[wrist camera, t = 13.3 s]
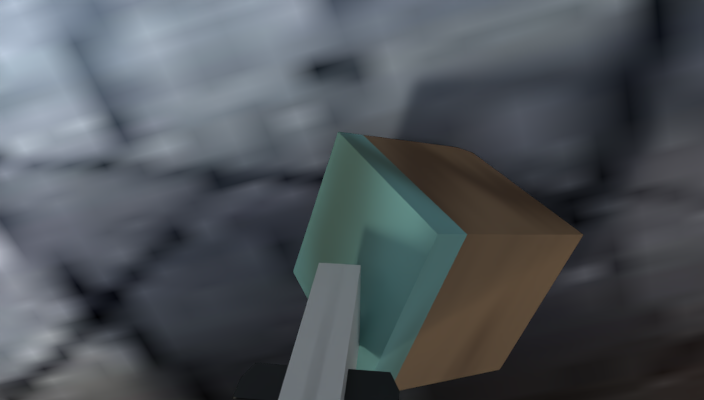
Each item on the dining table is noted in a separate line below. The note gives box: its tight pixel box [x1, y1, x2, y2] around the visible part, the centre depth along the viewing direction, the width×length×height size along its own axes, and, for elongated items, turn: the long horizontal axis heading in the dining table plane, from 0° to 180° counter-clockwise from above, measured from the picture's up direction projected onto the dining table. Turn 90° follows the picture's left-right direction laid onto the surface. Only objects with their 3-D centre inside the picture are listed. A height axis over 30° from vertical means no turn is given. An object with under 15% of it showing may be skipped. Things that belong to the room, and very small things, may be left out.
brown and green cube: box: [293, 132, 583, 391], centre depth 17 cm, size 6×6×6 cm
